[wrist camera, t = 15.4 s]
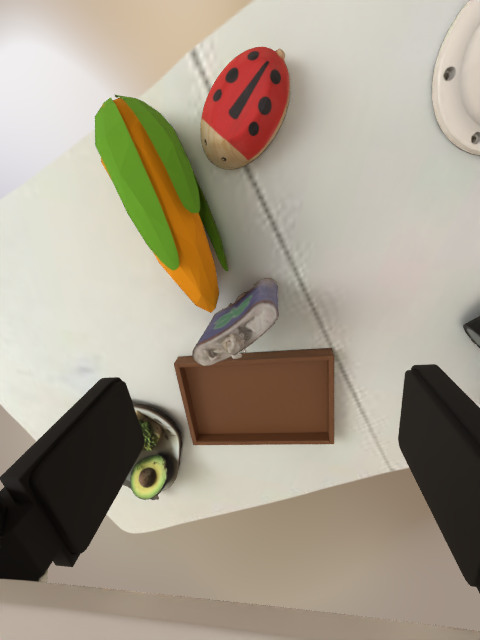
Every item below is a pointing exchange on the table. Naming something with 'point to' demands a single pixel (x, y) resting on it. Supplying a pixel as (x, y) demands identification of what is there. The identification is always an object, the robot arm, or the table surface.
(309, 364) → the tray
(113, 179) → the corn
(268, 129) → the ladybug figurine
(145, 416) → the avocado toast plate
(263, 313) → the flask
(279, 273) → the table surface
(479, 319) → the toy fire truck
